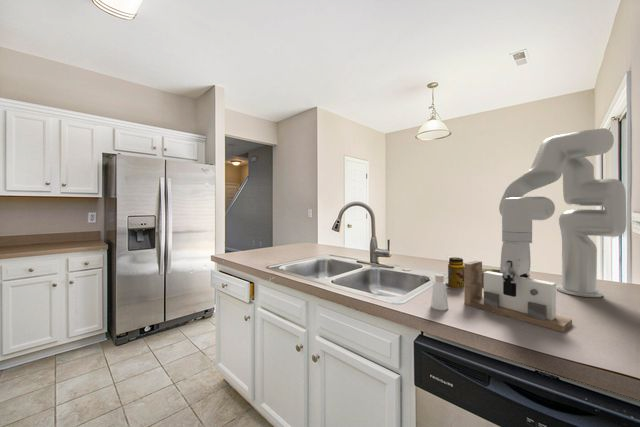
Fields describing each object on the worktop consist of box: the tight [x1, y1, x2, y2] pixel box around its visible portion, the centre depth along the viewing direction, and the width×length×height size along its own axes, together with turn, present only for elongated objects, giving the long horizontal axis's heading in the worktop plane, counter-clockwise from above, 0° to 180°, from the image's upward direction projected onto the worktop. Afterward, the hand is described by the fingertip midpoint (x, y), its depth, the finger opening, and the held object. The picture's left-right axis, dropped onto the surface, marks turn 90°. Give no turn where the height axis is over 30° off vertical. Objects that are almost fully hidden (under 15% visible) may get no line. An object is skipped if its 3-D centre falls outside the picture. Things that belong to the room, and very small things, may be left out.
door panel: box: [483, 271, 557, 320], centre depth 83 cm, size 4×18×10 cm, turn 34°
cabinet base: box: [463, 260, 573, 333], centre depth 84 cm, size 8×26×14 cm, turn 34°
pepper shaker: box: [430, 273, 449, 311], centre depth 90 cm, size 5×5×11 cm
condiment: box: [445, 256, 464, 290], centre depth 112 cm, size 7×8×12 cm
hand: (516, 292), depth 83 cm, fingers open, 9 cm apart
